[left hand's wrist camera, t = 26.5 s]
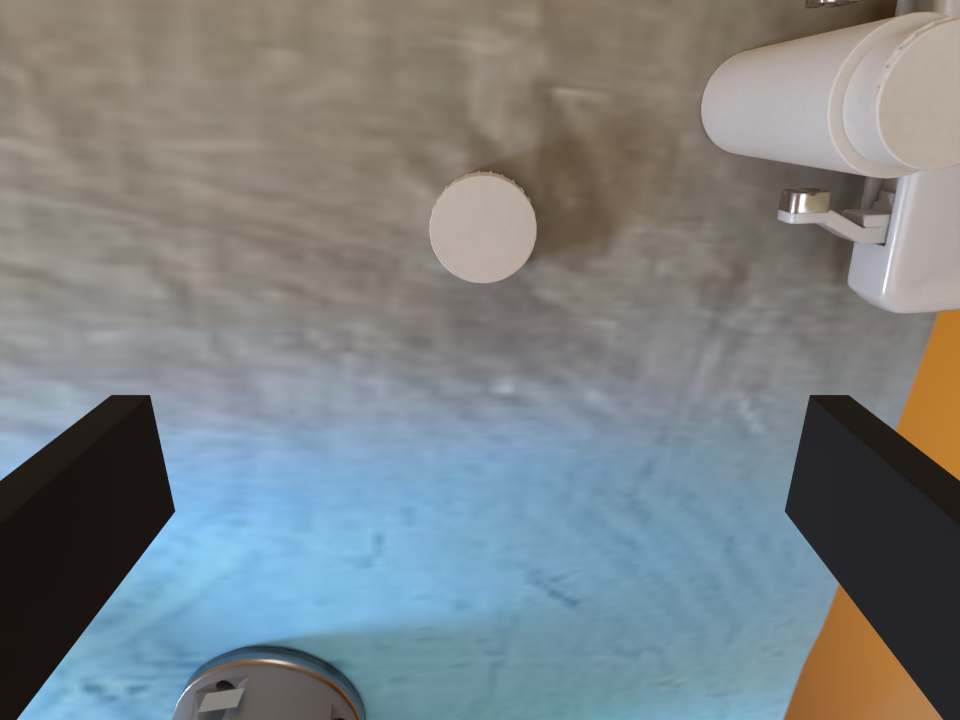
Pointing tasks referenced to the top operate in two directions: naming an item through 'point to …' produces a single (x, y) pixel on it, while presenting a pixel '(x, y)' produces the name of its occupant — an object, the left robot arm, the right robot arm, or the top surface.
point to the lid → (483, 227)
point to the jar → (846, 98)
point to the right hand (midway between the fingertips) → (797, 103)
